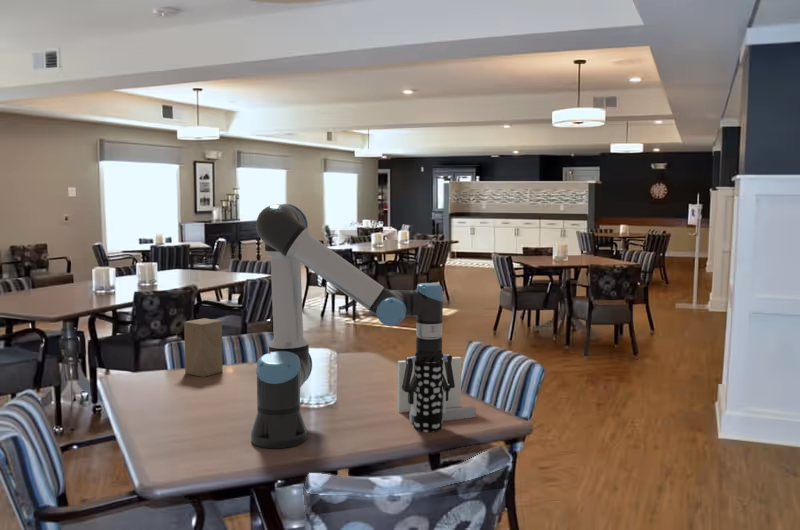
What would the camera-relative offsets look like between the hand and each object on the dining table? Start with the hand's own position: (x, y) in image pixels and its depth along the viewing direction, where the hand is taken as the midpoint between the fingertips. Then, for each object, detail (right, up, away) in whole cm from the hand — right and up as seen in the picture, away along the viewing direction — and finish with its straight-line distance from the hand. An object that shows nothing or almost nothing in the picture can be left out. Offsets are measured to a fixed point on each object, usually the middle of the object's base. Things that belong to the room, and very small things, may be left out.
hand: (428, 413), depth 200 cm
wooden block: (-83, +2, +61) cm, 103 cm away
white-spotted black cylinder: (0, -5, 0) cm, 5 cm away
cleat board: (+3, -3, +13) cm, 14 cm away
